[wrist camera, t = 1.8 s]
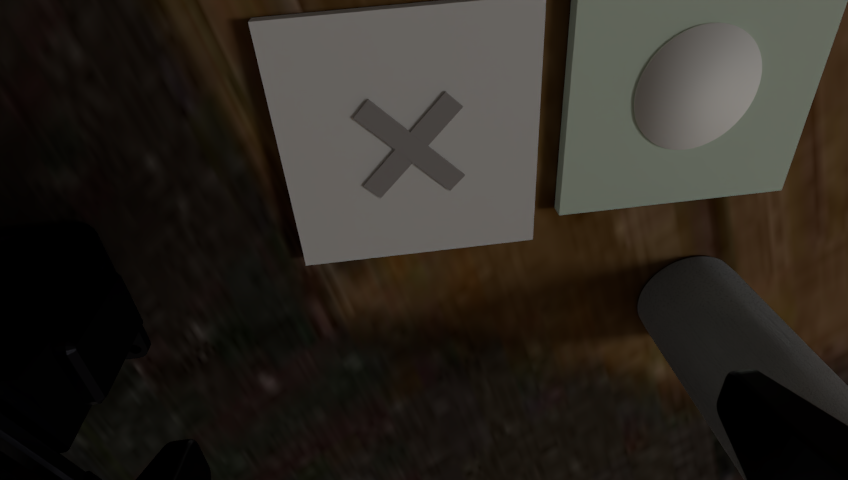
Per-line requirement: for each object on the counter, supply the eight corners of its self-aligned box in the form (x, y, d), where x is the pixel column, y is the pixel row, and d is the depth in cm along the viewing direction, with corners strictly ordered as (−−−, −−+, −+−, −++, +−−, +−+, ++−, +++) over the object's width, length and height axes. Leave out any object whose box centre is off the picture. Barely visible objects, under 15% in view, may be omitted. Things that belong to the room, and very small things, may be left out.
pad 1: (307, 256, 21) (305, 267, 21) (251, 18, 16) (247, 22, 16) (528, 231, 22) (533, 241, 21) (540, -10, 17) (547, -5, 16)
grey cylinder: (680, 342, 26) (834, 561, 18) (615, 310, 25) (752, 534, 16) (753, 278, 24) (966, 488, 16) (688, 238, 23) (887, 449, 14)
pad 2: (554, 207, 21) (559, 216, 21) (575, -48, 16) (583, -46, 16) (771, 183, 22) (783, 191, 21) (857, -73, 17) (875, -72, 16)
